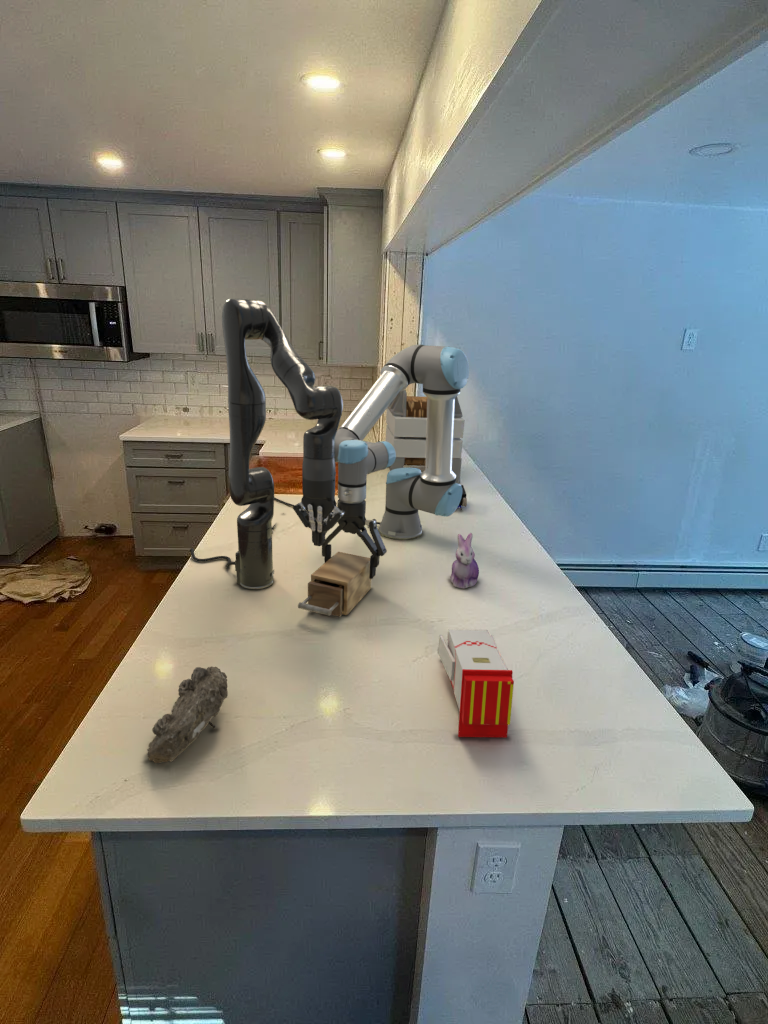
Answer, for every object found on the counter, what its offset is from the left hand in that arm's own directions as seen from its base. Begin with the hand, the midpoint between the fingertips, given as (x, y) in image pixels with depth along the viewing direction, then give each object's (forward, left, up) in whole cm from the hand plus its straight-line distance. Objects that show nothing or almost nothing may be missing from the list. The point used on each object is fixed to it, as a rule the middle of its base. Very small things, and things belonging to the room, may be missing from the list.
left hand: (318, 544), depth 135 cm
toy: (+40, -15, -21) cm, 48 cm away
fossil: (-7, -42, -21) cm, 48 cm away
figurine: (+32, +35, -21) cm, 52 cm away
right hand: (+2, +19, -16) cm, 24 cm away
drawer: (+1, +8, -20) cm, 21 cm away
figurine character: (+19, +102, -21) cm, 106 cm away
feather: (-38, +54, -21) cm, 70 cm away
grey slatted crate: (-6, +145, -21) cm, 146 cm away
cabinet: (+1, +14, -21) cm, 25 cm away
